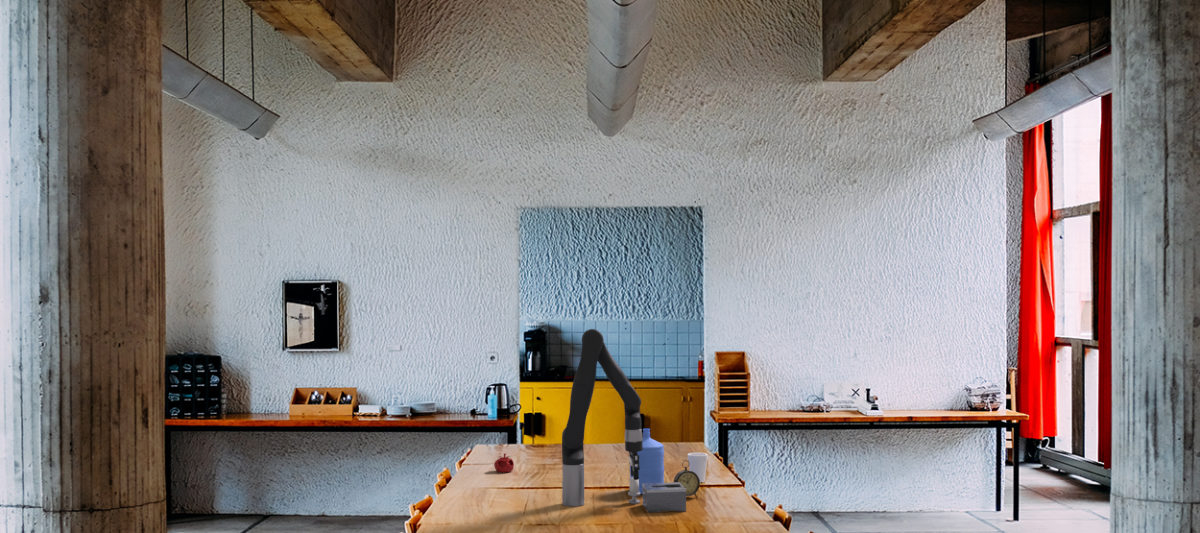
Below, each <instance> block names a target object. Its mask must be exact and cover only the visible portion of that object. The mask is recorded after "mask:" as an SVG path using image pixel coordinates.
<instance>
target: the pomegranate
mask: <svg viewBox="0 0 1200 533" xmlns="http://www.w3.org/2000/svg"><path fill="white" fill-rule="evenodd" d="M506 454H507V453H506V452H505V453H503V456H501V455H500V456H498V458H497V459H496V460H495V461H494V465H493V466H494V469H495V471H496V472H497V473H499V472H506V473H510V471H511V472H512V471H513V470H514V466H515V462H514V460H513V459H512V458H510V457H511V455H510V456H509V455H508V456H507V455H506Z"/></svg>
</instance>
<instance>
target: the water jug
mask: <svg viewBox="0 0 1200 533" xmlns="http://www.w3.org/2000/svg"><path fill="white" fill-rule="evenodd" d="M650 430H651V428H643V429H642V431H643V432H642V443H643V450H642V451H638V452H637V453H638V455H639V463H640V464H639V467H640V470H639V492H640V495H643V490H642V483H665V475H664V474H665V473H664V472H665V465H664V464H665V463H664V458H665V457H664V454H665V448H664V444H663V443H661V442H659V441H657V440H655V439H653V438H651V432H650ZM636 467H637V466H636ZM629 478H633V476H631V467H630V466H629Z"/></svg>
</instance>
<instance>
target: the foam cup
mask: <svg viewBox="0 0 1200 533" xmlns="http://www.w3.org/2000/svg"><path fill="white" fill-rule="evenodd" d="M708 460H709V455H708V453H705V452H689V453H687V461H688V462H689V463H688V462H687V463H688V465H689V467H688V468H689V471H693V472H694V473H696V474H697V476H698V477H699V480H700V482H704V481H706V473H707V466H708ZM704 483H705V482H704Z"/></svg>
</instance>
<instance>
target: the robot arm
mask: <svg viewBox="0 0 1200 533" xmlns="http://www.w3.org/2000/svg"><path fill="white" fill-rule="evenodd" d="M598 364H599V365H600V367H601V369H602V370H603V372H604V374H605V376H606V377H607V378H606V379H607V380H608V381H609V383H610V384H611V386H612V387H613V388H614V390H615V391H616V392H617V394H618V395H619V397H620V399H621V400H622V402H623V406H624V451H625V452H628V454H629V455H628V458H629V459H628V460H629V461H628V463H629V468H630V467H631V476H633V479H634V480H638V479H639V470H640V467H639V464H640V463H639V455H638V453H637V452H638V451H642V450H643V443H642V438H643V432H642V431H643V429H642V417H641V406H642V400H641V399H642V398H641V397H640V396H639V394H638V392H637V391H636V390H635V388H634V387H633V386H632V384H631V382H630V380H629V379H628V377H627V376H626V374H625V372H624V371H623V369H622V368H621V367H620V365H619V364H618V363H617V362H616V360H615V359H614V357H613V356H612V355H611V353H610V352H609V350H608V348H607V346H606V343H605V341H604V335H603V334H602V332H601V331H599V329H595V328H589V329H586V331H584V332H583V333H582V336H581V354H580V359H579V363H578V365H577V368H576V371H575V374H574V378H573V382H572V386H571V392H570V397H569V398H570V399H569V414H568V419H567V423H566V427H565V428H564V429H563V431H562V433H561V460H562V463H561V464H562V480H561V487H562V490H561V494H562V496H561V497H562V501H561V503H562V506H564V507H580V506H583V505H585V455H584V454H585V452H584V447H585V446H584V440H585V429H586V428H585V427H586V421H587V415H588V413H589V409H590V405H591V402H592V397H593V396H594V395H593V394H594V390H595V384H596V377H597V367H598V366H597V365H598ZM636 466H637V467H636Z"/></svg>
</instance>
